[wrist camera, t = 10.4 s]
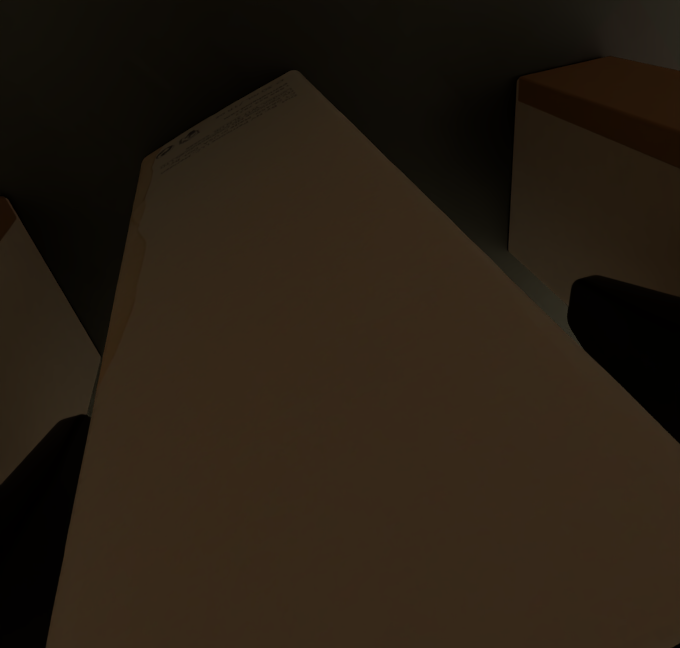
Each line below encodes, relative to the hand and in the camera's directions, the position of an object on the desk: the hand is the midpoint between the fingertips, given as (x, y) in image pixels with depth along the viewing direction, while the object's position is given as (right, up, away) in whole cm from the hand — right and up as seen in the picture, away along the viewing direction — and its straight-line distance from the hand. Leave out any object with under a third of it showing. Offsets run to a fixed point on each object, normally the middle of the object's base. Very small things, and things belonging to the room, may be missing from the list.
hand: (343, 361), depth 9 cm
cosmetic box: (-2, +4, +5) cm, 6 cm away
